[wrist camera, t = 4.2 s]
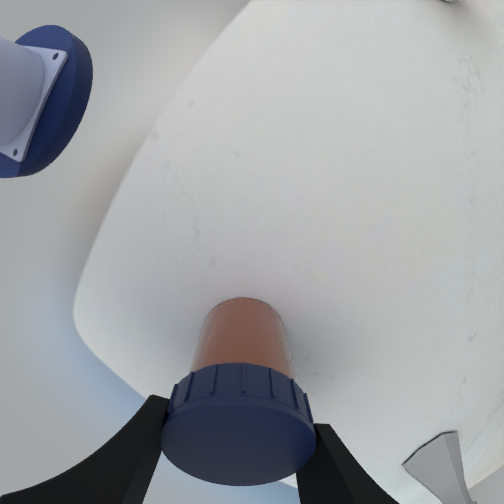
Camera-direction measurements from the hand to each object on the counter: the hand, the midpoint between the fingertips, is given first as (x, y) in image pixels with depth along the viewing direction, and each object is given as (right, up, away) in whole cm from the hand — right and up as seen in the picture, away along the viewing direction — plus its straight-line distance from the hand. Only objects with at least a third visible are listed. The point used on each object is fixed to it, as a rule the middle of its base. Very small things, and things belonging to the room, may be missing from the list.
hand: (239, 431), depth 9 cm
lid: (0, 0, -1) cm, 1 cm away
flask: (+20, -15, +12) cm, 28 cm away
